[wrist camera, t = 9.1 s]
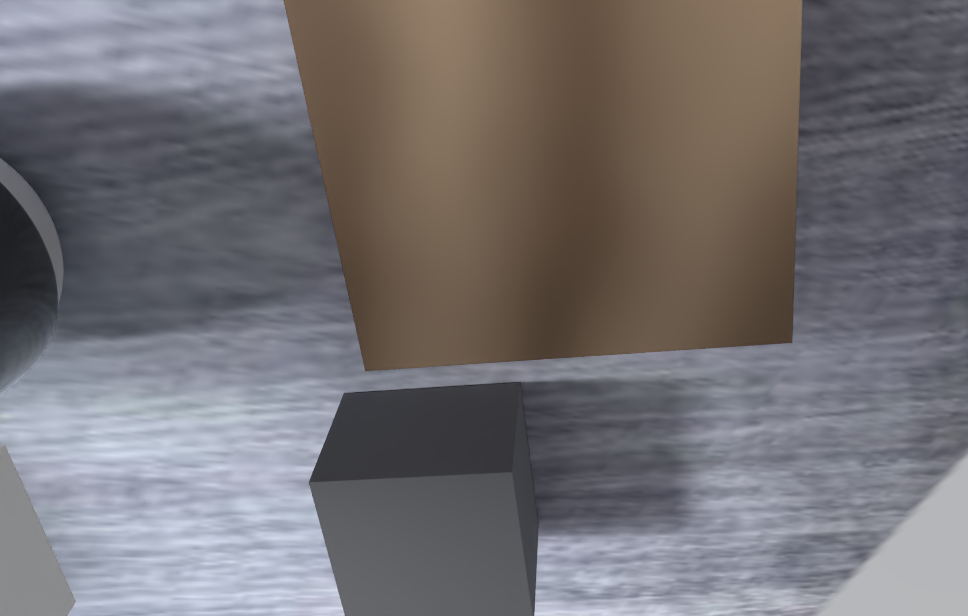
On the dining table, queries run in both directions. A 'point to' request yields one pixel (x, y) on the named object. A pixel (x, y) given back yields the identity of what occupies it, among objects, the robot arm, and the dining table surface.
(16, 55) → the dining table surface
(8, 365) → the pump dispenser
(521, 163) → the lid
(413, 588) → the block
